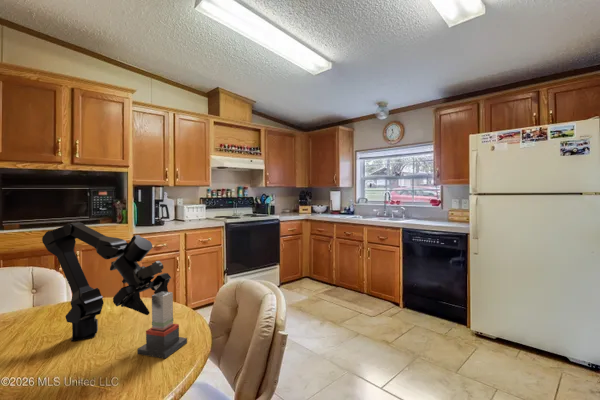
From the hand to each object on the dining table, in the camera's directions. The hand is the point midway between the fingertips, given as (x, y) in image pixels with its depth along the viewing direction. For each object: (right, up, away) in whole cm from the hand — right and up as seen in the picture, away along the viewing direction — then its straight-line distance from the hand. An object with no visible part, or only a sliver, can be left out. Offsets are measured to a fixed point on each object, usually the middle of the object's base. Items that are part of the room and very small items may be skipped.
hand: (159, 308), depth 94 cm
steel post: (+1, -7, 0) cm, 7 cm away
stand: (+1, -12, 0) cm, 12 cm away
